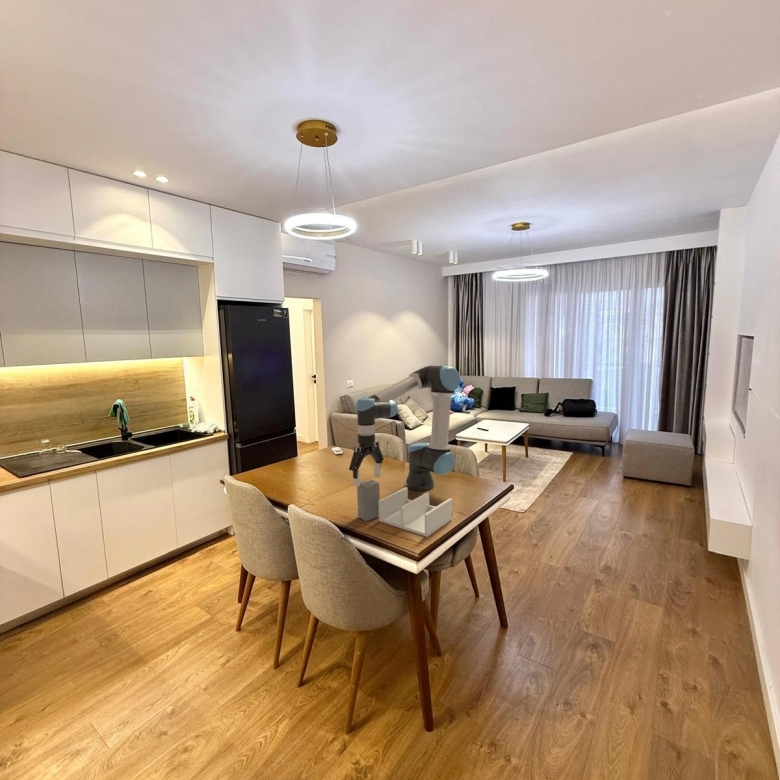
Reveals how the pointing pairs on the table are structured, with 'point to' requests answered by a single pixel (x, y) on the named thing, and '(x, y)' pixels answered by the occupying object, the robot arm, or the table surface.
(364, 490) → the skincare box
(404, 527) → the rack
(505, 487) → the table surface
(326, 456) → the table surface
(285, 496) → the table surface
